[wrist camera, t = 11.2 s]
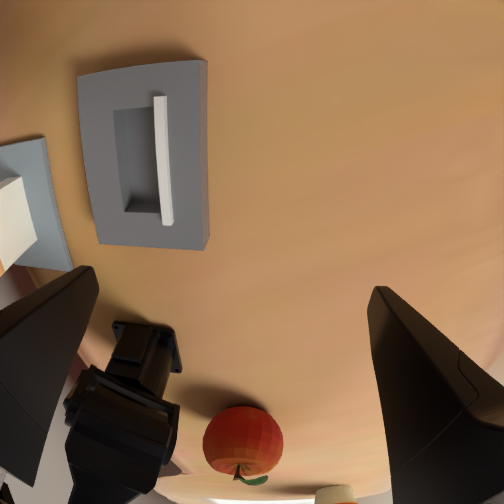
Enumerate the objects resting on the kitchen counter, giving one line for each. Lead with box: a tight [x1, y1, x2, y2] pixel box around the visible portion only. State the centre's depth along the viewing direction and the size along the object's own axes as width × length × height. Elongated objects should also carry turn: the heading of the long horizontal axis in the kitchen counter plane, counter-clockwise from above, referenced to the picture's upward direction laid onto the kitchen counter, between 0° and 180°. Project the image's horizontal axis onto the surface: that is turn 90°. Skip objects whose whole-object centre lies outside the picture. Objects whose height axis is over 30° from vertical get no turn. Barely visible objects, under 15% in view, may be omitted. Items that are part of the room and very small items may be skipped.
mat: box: [0, 137, 74, 272], centre depth 22 cm, size 12×8×1 cm, turn 178°
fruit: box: [203, 406, 283, 485], centre depth 31 cm, size 10×10×10 cm
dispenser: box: [77, 60, 210, 251], centre depth 18 cm, size 12×8×2 cm, turn 178°
